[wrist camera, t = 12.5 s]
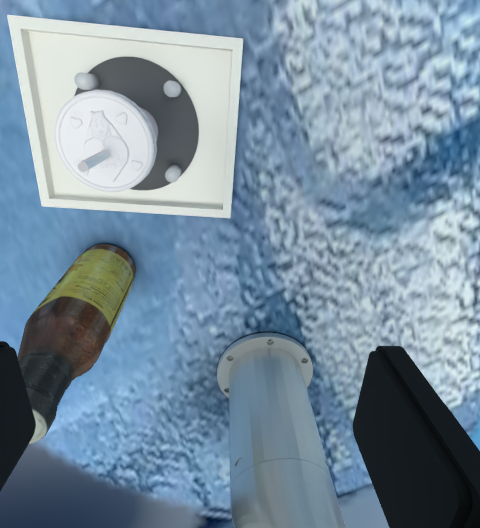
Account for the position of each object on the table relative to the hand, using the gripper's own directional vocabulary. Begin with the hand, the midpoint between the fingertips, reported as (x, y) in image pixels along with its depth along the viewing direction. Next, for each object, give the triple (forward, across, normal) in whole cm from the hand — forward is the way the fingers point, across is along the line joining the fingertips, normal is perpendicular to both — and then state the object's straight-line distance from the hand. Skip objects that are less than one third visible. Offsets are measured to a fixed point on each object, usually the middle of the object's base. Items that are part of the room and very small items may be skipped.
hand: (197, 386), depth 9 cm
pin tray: (+27, +8, -5) cm, 29 cm away
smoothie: (+26, +8, -5) cm, 28 cm away
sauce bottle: (+28, +12, +10) cm, 32 cm away
